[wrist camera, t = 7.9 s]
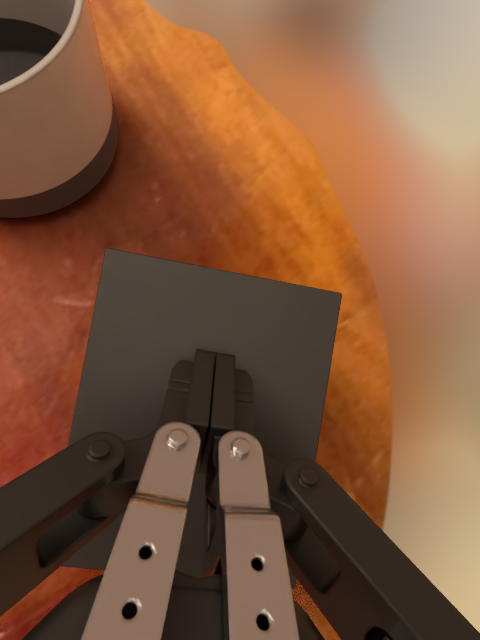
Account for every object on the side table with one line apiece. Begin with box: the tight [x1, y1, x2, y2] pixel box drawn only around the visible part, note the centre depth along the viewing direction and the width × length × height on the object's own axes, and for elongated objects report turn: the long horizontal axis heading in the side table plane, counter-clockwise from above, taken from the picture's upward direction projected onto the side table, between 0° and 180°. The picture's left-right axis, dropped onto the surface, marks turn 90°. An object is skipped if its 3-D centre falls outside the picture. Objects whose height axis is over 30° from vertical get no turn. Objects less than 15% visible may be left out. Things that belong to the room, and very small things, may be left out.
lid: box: [61, 248, 342, 589], centre depth 15 cm, size 12×10×1 cm
